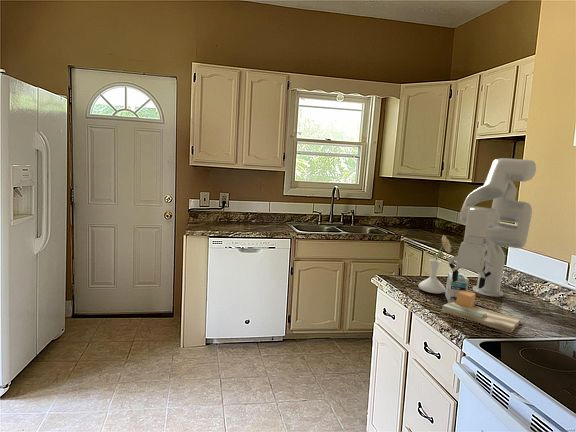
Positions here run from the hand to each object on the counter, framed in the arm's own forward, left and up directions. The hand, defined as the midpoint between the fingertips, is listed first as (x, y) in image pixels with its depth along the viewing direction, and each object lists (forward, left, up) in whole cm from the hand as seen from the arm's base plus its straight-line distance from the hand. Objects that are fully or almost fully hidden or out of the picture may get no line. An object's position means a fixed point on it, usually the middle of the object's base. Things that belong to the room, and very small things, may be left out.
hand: (467, 284), depth 167 cm
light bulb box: (-10, -7, -11) cm, 16 cm away
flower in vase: (-14, -18, -11) cm, 25 cm away
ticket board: (+3, +7, -10) cm, 13 cm away
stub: (-1, 0, -9) cm, 9 cm away
